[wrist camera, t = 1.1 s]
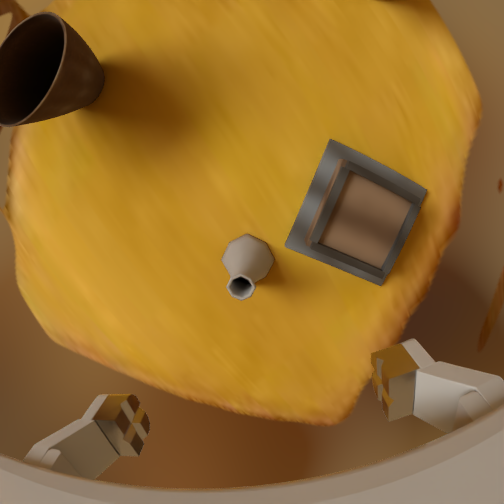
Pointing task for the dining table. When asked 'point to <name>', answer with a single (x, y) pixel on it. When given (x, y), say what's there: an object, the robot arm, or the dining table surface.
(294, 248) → the walnut plinth
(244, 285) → the flask
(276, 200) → the dining table surface
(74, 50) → the plant pot
